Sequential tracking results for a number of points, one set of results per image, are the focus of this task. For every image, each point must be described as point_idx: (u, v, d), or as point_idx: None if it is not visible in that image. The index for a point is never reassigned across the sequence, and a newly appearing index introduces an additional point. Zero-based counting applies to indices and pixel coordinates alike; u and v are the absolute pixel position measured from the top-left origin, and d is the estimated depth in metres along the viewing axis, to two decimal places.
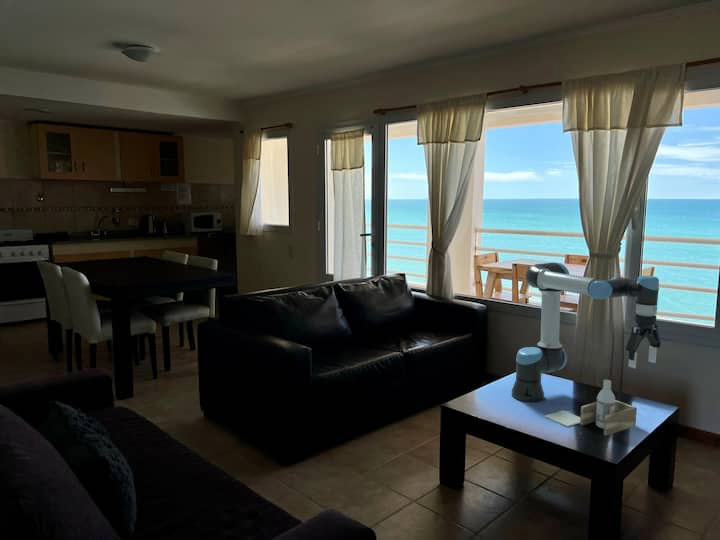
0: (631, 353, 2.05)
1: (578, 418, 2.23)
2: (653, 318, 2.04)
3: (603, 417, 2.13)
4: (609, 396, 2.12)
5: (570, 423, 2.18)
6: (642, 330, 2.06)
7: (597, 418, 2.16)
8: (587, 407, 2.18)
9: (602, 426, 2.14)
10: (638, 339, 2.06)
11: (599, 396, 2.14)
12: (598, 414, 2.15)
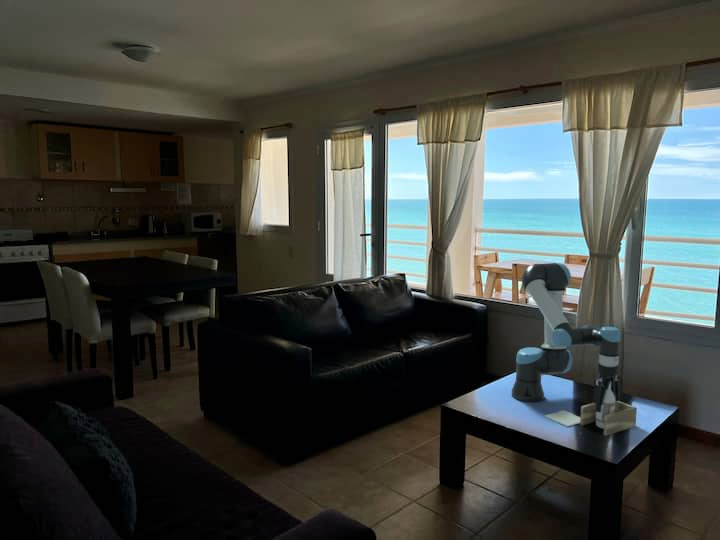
0: (598, 405, 2.12)
1: (578, 418, 2.23)
2: (615, 369, 2.10)
3: (603, 417, 2.13)
4: (609, 396, 2.12)
5: (570, 423, 2.18)
6: (604, 380, 2.11)
7: None
8: (587, 407, 2.18)
9: (602, 426, 2.14)
10: (602, 391, 2.12)
11: None
12: None
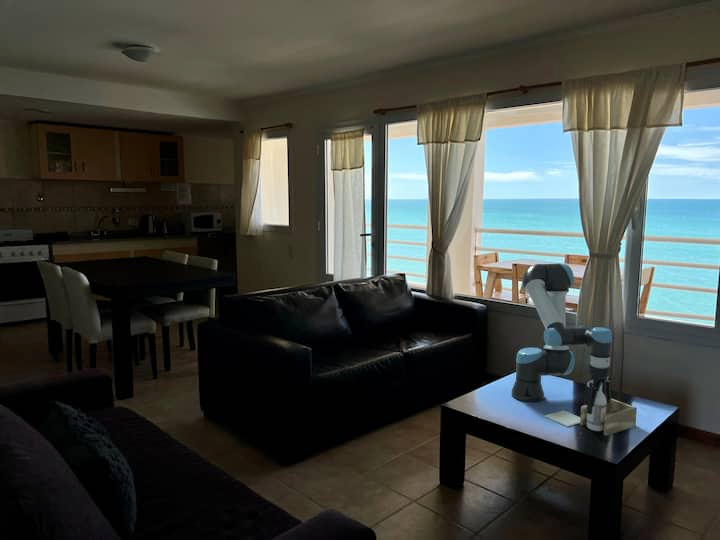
0: (589, 407, 2.10)
1: (578, 418, 2.23)
2: (606, 370, 2.07)
3: (594, 419, 2.10)
4: (600, 398, 2.09)
5: (570, 423, 2.18)
6: (595, 382, 2.09)
7: (588, 420, 2.13)
8: None
9: (593, 428, 2.11)
10: (593, 392, 2.09)
11: None
12: None
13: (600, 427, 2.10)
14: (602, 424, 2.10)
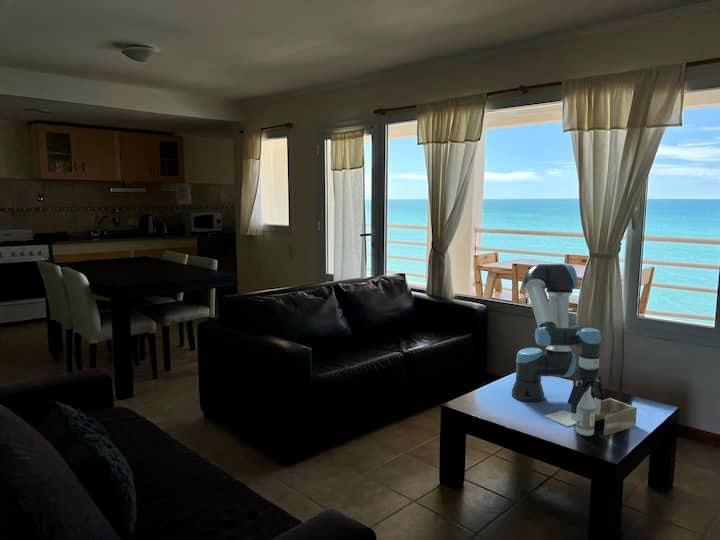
0: (573, 406, 2.05)
1: None
2: (595, 371, 2.04)
3: (583, 423, 2.07)
4: (589, 402, 2.06)
5: (570, 423, 2.18)
6: (584, 383, 2.05)
7: (577, 424, 2.10)
8: None
9: (582, 432, 2.08)
10: (580, 392, 2.05)
11: (579, 402, 2.09)
12: (578, 420, 2.09)
13: (589, 432, 2.07)
14: (591, 428, 2.07)
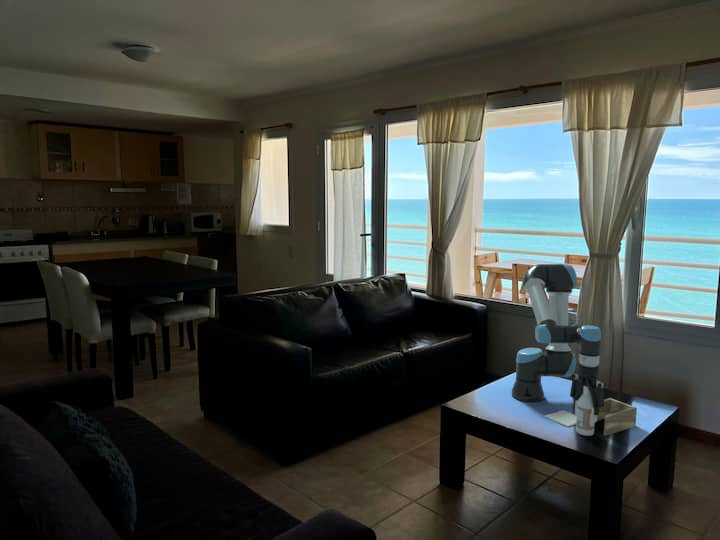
0: None
1: None
2: (581, 367, 2.06)
3: (583, 423, 2.07)
4: (589, 402, 2.06)
5: (570, 423, 2.18)
6: (579, 376, 2.10)
7: (577, 424, 2.10)
8: None
9: (582, 432, 2.08)
10: None
11: (579, 402, 2.08)
12: (578, 420, 2.09)
13: (589, 432, 2.07)
14: (591, 429, 2.07)
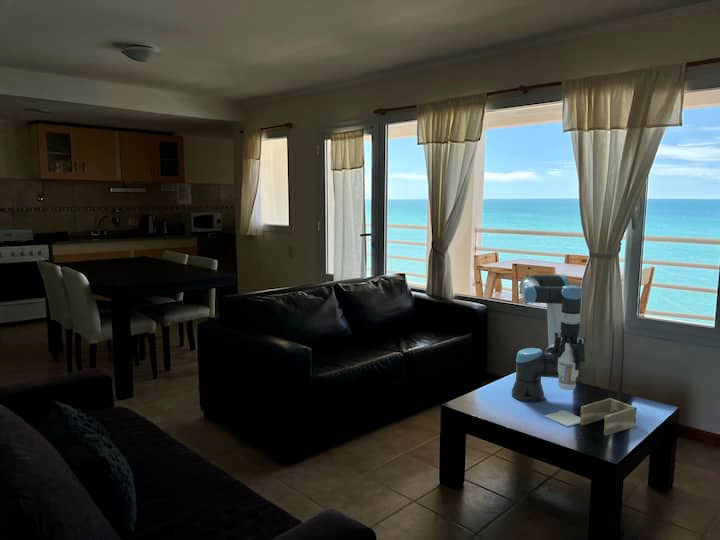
0: None
1: (578, 418, 2.23)
2: (562, 325, 2.17)
3: (565, 378, 2.19)
4: (570, 357, 2.17)
5: (570, 423, 2.18)
6: (561, 334, 2.21)
7: (559, 379, 2.21)
8: (587, 407, 2.18)
9: (564, 387, 2.19)
10: None
11: (561, 358, 2.20)
12: (560, 375, 2.20)
13: (570, 386, 2.18)
14: (572, 383, 2.18)
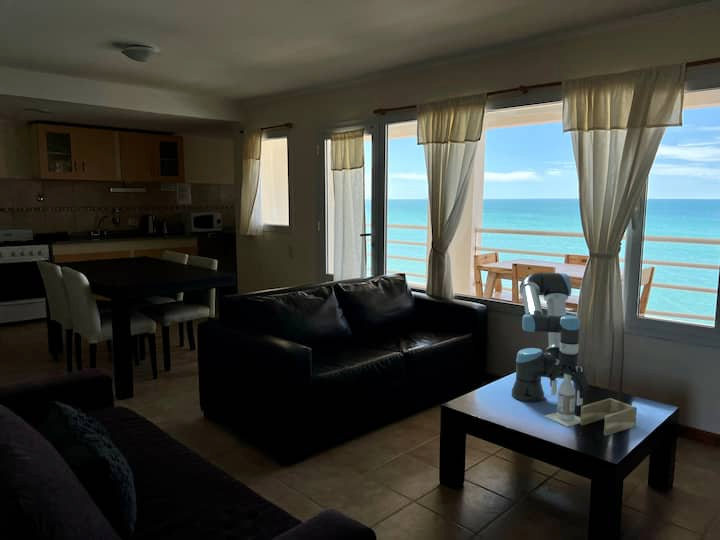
0: None
1: (578, 418, 2.23)
2: (561, 354, 2.19)
3: (563, 409, 2.20)
4: (569, 388, 2.19)
5: (570, 423, 2.18)
6: (559, 364, 2.23)
7: (558, 410, 2.23)
8: (587, 407, 2.18)
9: (562, 417, 2.21)
10: None
11: (560, 388, 2.22)
12: (559, 406, 2.22)
13: (569, 417, 2.20)
14: (571, 414, 2.20)
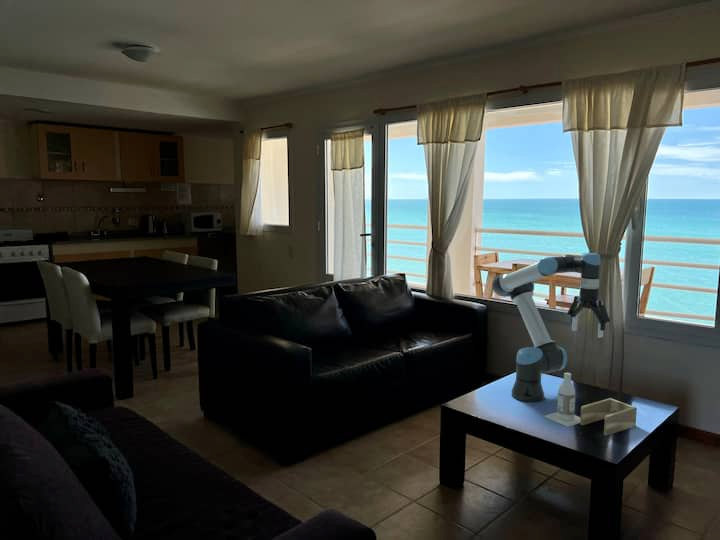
0: None
1: (578, 418, 2.23)
2: (582, 290, 2.28)
3: (563, 409, 2.20)
4: (569, 388, 2.19)
5: (570, 423, 2.18)
6: (580, 300, 2.33)
7: (558, 410, 2.23)
8: (587, 407, 2.18)
9: (562, 417, 2.21)
10: None
11: (560, 388, 2.22)
12: (559, 406, 2.22)
13: (569, 417, 2.20)
14: (571, 414, 2.20)
